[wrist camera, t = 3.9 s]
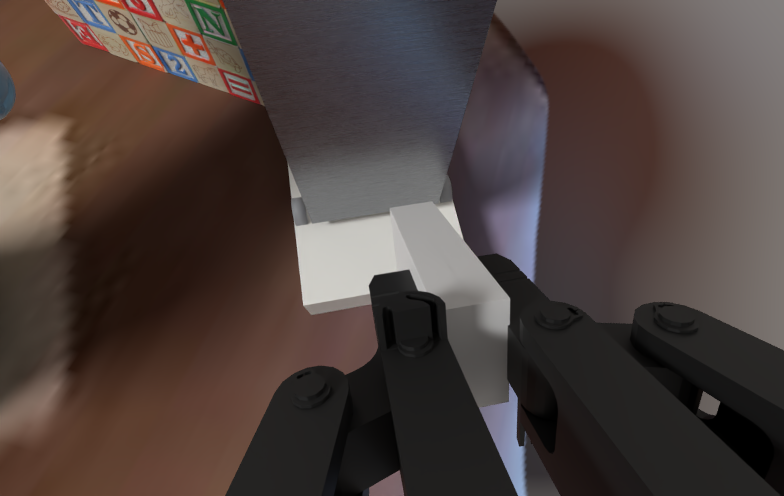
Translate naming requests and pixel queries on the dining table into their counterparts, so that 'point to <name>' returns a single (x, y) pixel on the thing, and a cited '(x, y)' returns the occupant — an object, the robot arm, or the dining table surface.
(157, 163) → the dining table surface
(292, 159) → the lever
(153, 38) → the stack of blocks
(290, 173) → the white slotted base
